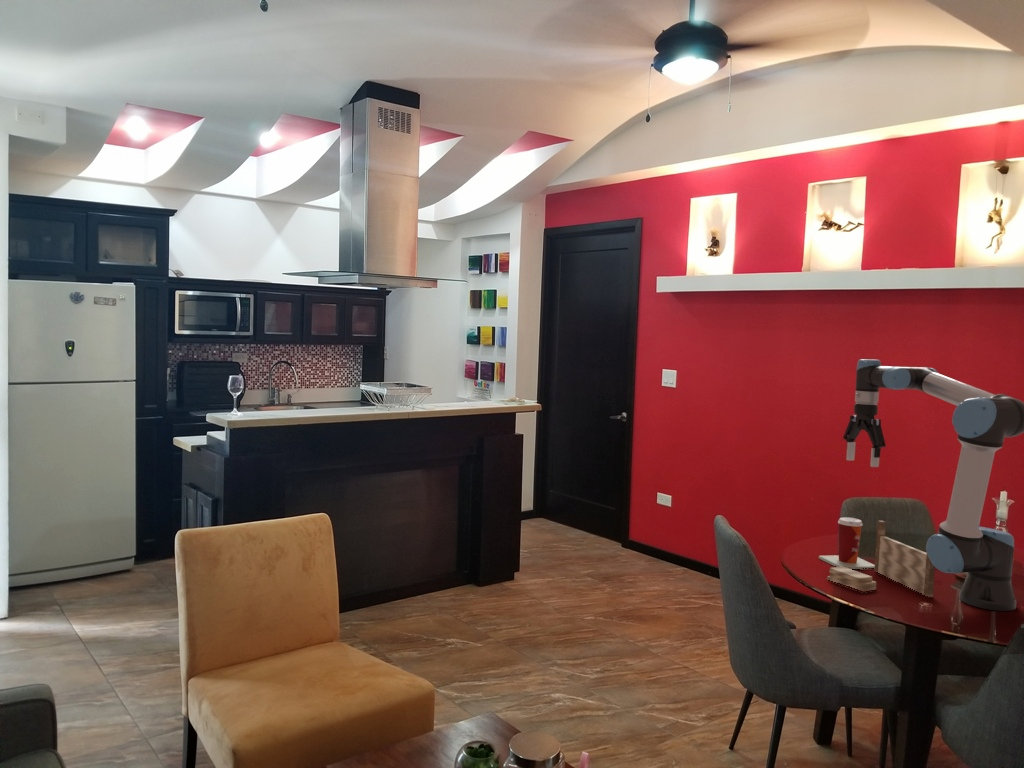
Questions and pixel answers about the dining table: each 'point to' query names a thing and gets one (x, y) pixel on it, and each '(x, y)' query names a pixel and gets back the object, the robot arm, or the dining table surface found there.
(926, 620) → the dining table surface
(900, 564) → the brown flat upright panel
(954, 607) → the dining table surface
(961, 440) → the robot arm
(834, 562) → the sage board
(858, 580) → the offcut stack
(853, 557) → the coffee cup
